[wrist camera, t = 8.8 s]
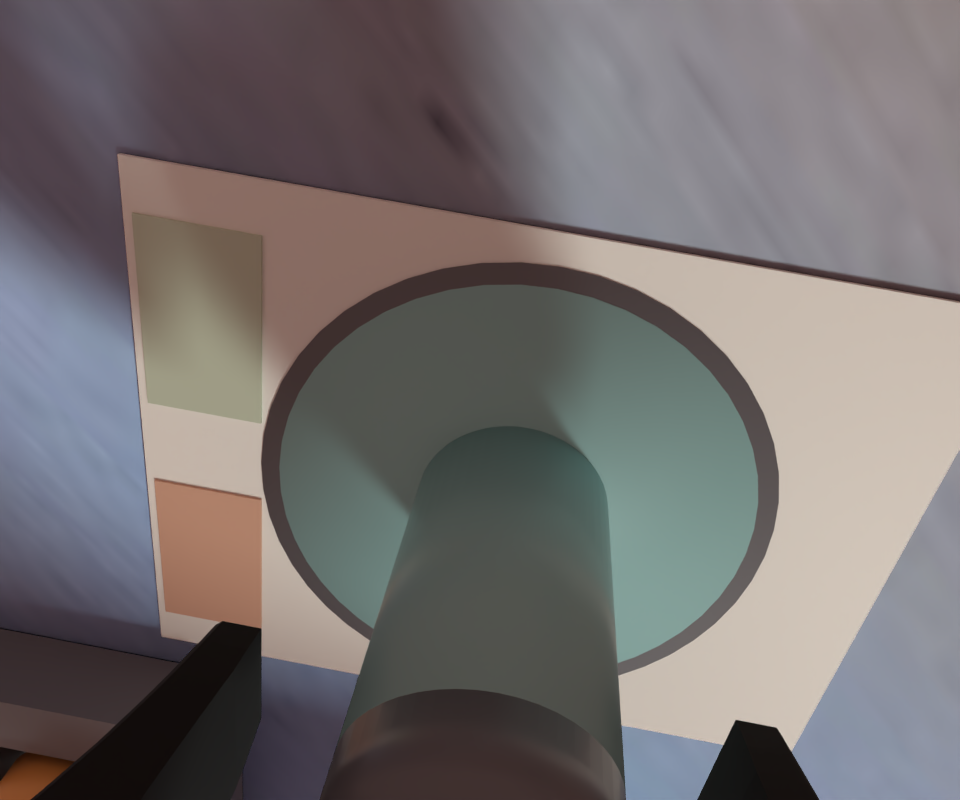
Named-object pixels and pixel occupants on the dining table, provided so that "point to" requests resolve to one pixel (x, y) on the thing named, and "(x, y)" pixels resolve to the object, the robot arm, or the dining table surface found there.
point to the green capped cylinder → (492, 636)
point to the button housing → (67, 695)
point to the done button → (30, 775)
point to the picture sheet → (526, 426)
